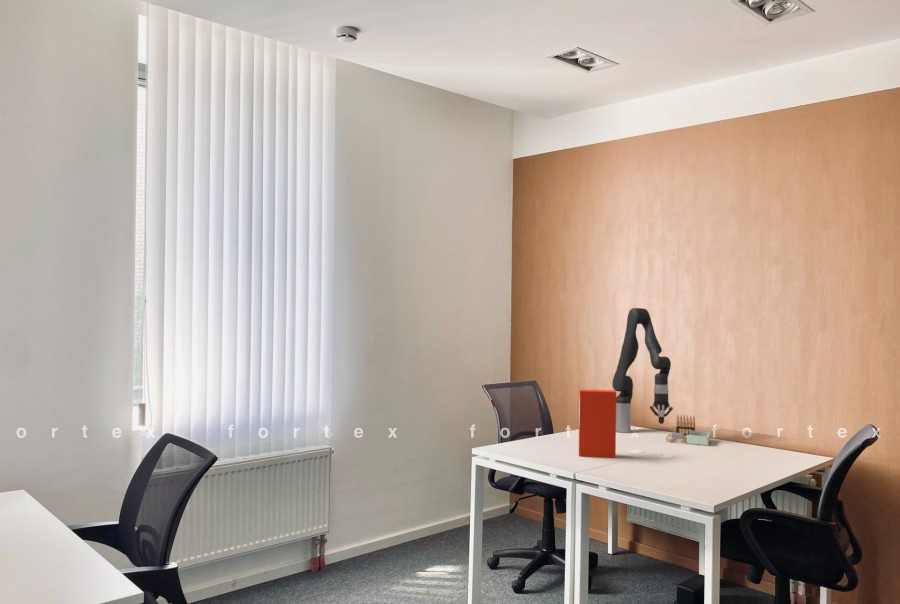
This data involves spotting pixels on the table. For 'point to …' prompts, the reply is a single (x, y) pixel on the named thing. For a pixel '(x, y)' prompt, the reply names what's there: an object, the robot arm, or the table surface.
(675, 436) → the tile
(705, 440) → the box
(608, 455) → the file binder
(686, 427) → the ammunition clip
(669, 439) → the bench plate
